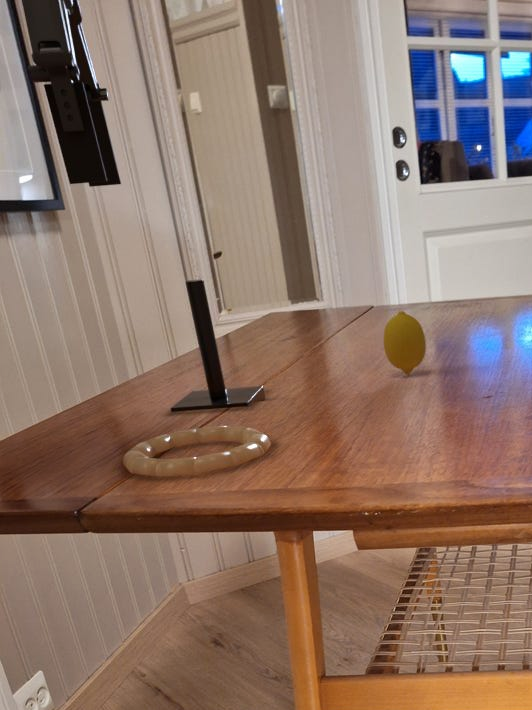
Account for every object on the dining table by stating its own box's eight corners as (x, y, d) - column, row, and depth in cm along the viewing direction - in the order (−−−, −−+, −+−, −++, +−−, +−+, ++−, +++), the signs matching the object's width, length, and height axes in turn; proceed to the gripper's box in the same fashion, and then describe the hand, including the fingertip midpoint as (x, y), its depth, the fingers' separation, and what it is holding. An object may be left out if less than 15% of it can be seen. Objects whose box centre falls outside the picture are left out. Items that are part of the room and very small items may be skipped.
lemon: (429, 368, 118) (423, 306, 115) (427, 377, 113) (421, 312, 110) (389, 371, 119) (382, 309, 115) (385, 380, 114) (377, 315, 110)
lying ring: (107, 491, 78) (100, 467, 77) (154, 450, 90) (148, 429, 89) (255, 481, 78) (250, 457, 77) (282, 441, 89) (278, 419, 88)
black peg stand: (173, 420, 101) (142, 287, 94) (194, 403, 109) (167, 279, 102) (249, 415, 101) (224, 281, 94) (265, 398, 109) (242, 273, 102)
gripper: (43, -214, 53) (134, 176, 63) (88, -95, 75) (151, 183, 85) (-91, -215, 52) (24, 185, 62) (-5, -93, 73) (70, 189, 83)
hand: (98, 184), depth 73 cm, fingers open, 13 cm apart
